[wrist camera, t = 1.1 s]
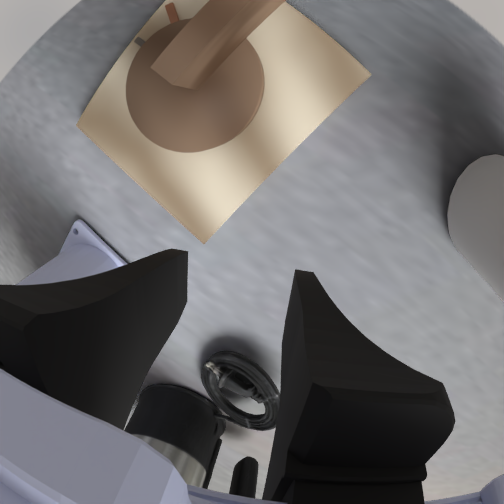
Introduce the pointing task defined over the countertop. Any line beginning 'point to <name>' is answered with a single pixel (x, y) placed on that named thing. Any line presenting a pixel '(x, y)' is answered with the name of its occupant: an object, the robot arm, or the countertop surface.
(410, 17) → the countertop surface
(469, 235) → the can
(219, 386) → the milk frother
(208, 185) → the dial plate
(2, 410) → the robot arm
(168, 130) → the dial
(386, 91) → the countertop surface
